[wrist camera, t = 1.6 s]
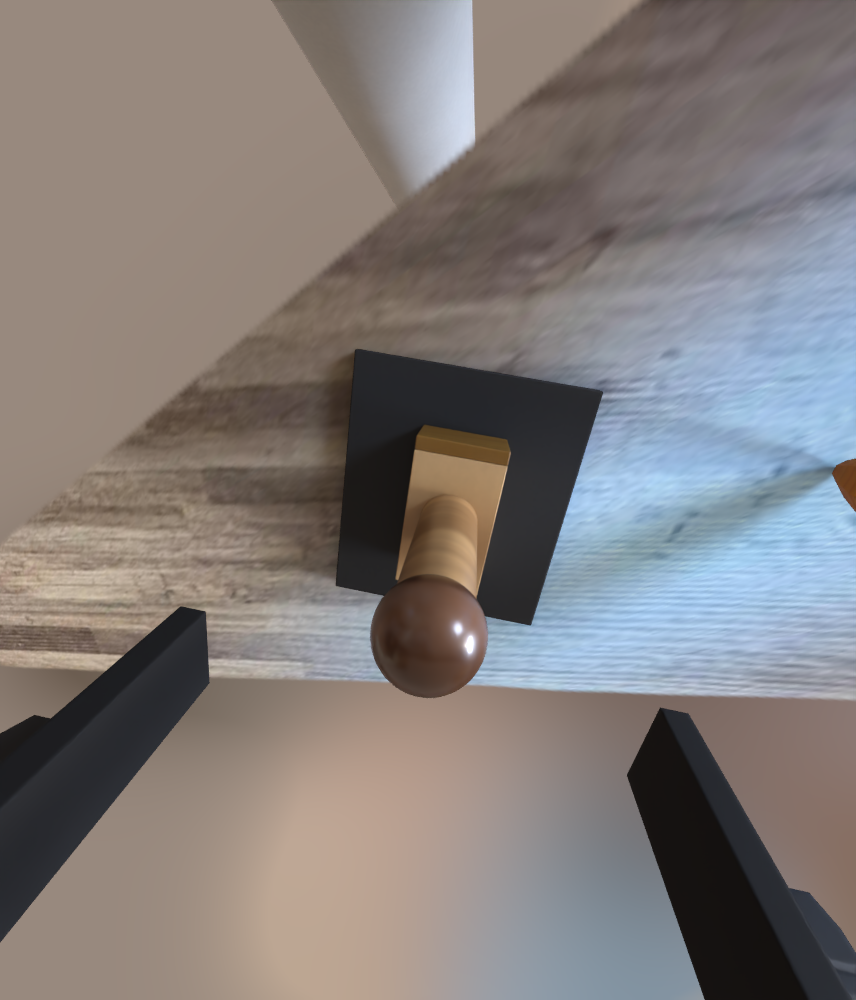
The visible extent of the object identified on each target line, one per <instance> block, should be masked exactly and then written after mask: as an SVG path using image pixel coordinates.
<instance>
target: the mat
mask: <svg viewBox="0 0 856 1000" xmlns="http://www.w3.org/2000/svg"><path fill="white" fill-rule="evenodd" d="M602 394H603V392H602V391H600V390H595V389H589V388H583V387H577V386H572V385H566V384H560V383H554V382H548V381H542V380H536V379H531V378H525V377H519V376H513V375H507V374H501V373H496V372H490V371H484V370H478V369H472V368H466V367H461V366H455V365H449V364H443V363H437V362H431V361H425V360H420V359H414V358H408V357H402V356H396V355H390V354H385V353H379V352H373V351H367V350H361V349H356V350H355V358H354V371H353V383H352V395H351V407H350V419H349V431H348V443H347V455H346V467H345V480H344V492H343V504H342V516H341V528H340V540H339V552H338V564H337V577H336V586H339V587H344V588H349V589H354V590H359V591H364V592H369V593H374V594H379V595H383V596H385V594H386V593H387V592H388V591H389V590H390V589H391V588H392V587H394V586H395V585H396V584H397V582H398V580H396V579H395V578H396V571H397V564H398V558H399V551H400V544H401V537H402V530H403V524H404V517H405V510H406V503H407V496H408V490H409V483H410V476H411V469H412V462H413V455H414V450H415V442H416V436H417V434H418V433H419V431H420V430H421V429H422V427H423V426H424V425H429V426H435V427H440V428H446V429H451V430H457V431H462V432H468V433H473V434H479V435H485V436H490V437H496V438H501V439H506V440H507V441H508V445H509V448H510V451H511V455H510V459H509V463H508V465H507V472H506V476H505V480H504V484H503V488H502V493H501V497H500V501H499V505H498V509H497V513H496V518H495V522H494V526H493V530H492V534H491V538H490V543H489V547H488V551H487V555H486V559H485V563H484V568H483V572H482V576H481V580H480V584H479V589H478V593H477V596H476V599H477V601H478V602H479V604H480V606H481V608H482V610H483V612H484V615H485V616H487V617H491V618H496V619H501V620H506V621H511V622H516V623H521V624H526V625H531V624H532V620H533V617H534V614H535V611H536V608H537V604H538V601H539V598H540V595H541V591H542V588H543V585H544V582H545V578H546V575H547V572H548V569H549V566H550V562H551V559H552V556H553V553H554V549H555V546H556V543H557V540H558V536H559V533H560V530H561V527H562V524H563V520H564V517H565V514H566V511H567V507H568V504H569V501H570V498H571V495H572V491H573V488H574V485H575V482H576V478H577V475H578V472H579V469H580V465H581V462H582V459H583V456H584V453H585V449H586V446H587V443H588V440H589V436H590V433H591V430H592V427H593V424H594V420H595V417H596V414H597V411H598V407H599V404H600V401H601V398H602Z"/></svg>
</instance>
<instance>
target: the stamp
mask: <svg viewBox="0 0 856 1000" xmlns="http://www.w3.org/2000/svg"><path fill="white" fill-rule="evenodd" d="M510 455H511V451H510V448H509V445H508V441H507V440H506V439H501V438H496V437H490V436H485V435H479V434H473V433H468V432H462V431H457V430H451V429H446V428H440V427H435V426H429V425H424V426H423V427H422V429H421V430H420V431H419V433H418V434H417V436H416V442H415V450H414V455H413V462H412V469H411V476H410V483H409V490H408V496H407V503H406V510H405V517H404V524H403V530H402V537H401V544H400V551H399V558H398V564H397V571H396V578H395V579H396V580H398V582H397V584H396V585H395V586H394V587H392V588H391V589H390V590H389V591H388V592H387V593H386V594H385V596H384V597H383V598H382V599H381V601H380V603H379V604H378V606H377V608H376V610H375V613H374V616H373V619H372V624H371V632H370V640H371V649H372V653H373V656H374V659H375V661H376V664H377V666H378V667H379V669H380V671H381V672H382V674H383V675H384V676H385V678H386V679H387V680H388V681H389V682H390V683H392V684H393V685H394V686H395V687H396V688H398V689H400V690H401V691H403V692H405V693H407V694H410V695H413V696H417V697H423V698H436V697H442V696H445V695H448V694H451V693H453V692H455V691H457V690H459V689H460V688H462V687H463V686H464V685H466V684H467V683H468V682H469V681H470V680H471V679H472V678H473V677H474V675H475V674H476V673H477V671H478V670H479V668H480V666H481V664H482V662H483V660H484V657H485V654H486V650H487V644H488V629H487V622H486V618H485V615H484V612H483V610H482V608H481V606H480V604H479V602H478V601H477V599H476V596H477V593H478V589H479V584H480V580H481V576H482V572H483V568H484V563H485V559H486V555H487V551H488V547H489V543H490V538H491V534H492V530H493V526H494V522H495V518H496V513H497V509H498V505H499V501H500V497H501V493H502V488H503V484H504V480H505V476H506V472H507V465H508V463H509V459H510Z"/></svg>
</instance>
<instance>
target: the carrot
mask: <svg viewBox="0 0 856 1000" xmlns="http://www.w3.org/2000/svg"><path fill="white" fill-rule="evenodd" d="M832 474H833V477H834V479H835V481H836V483H837V485H838V487H839V489H840V491H841V493H842V495H843V496H844V498H845V499H846V501H847V502H848V503H849V504H850V506H851V507H852V508H853V509H854V511H855V512H856V459H852V460H847V461H845V462H842V463H840V464H838V465H836V467H835V469H834V471H833V472H832Z"/></svg>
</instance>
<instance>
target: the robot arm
mask: <svg viewBox="0 0 856 1000" xmlns="http://www.w3.org/2000/svg"><path fill="white" fill-rule="evenodd" d="M208 684H209V665H208V646H207V628H206V612H205V611H200V610H196V609H191V608H186V607H179V608H178V609H177V610H176V611H175V612H174V613H173V614H171V615H170V616H169V617H168V618H167V619H166V620H164V621H163V622H162V623H161V624H160V625H159V626H157V627H156V628H155V629H154V630H153V631H152V632H151V633H149V634H148V635H147V636H146V637H145V638H144V639H142V640H141V641H140V642H139V643H138V644H137V645H135V646H134V647H133V648H132V649H131V650H130V651H129V652H127V653H126V654H125V655H124V656H123V657H122V658H120V659H119V660H118V661H117V662H116V663H115V664H113V665H112V666H111V667H110V668H109V669H108V670H107V671H105V672H104V673H103V674H102V675H101V676H100V677H99V678H97V679H96V680H95V681H94V682H93V683H92V684H90V685H89V686H88V687H87V688H86V689H85V690H83V691H82V692H81V693H80V694H79V695H78V696H77V697H75V698H74V699H73V700H72V701H71V702H70V703H68V704H67V705H66V706H65V707H64V708H63V709H61V710H60V711H59V712H58V713H57V714H56V715H54V716H53V717H52V718H51V719H50V718H45V717H41V716H36V715H34V716H32V717H30V718H28V719H26V720H24V721H23V722H21V723H19V724H17V725H15V726H13V727H12V728H10V729H8V730H6V731H4V732H2V733H0V942H1V941H2V940H3V938H4V937H5V936H6V934H7V933H8V932H9V931H10V930H11V928H12V927H13V926H14V925H15V924H16V922H17V921H18V920H19V919H20V917H21V916H22V915H23V914H24V912H25V911H26V910H27V909H28V907H29V906H30V905H31V904H32V902H33V901H34V900H35V899H36V897H37V896H38V895H39V894H40V892H41V891H42V890H43V889H44V888H45V886H46V885H47V884H48V883H49V881H50V880H51V879H52V878H53V876H54V875H55V874H56V873H57V871H58V870H59V869H60V868H61V866H62V865H63V864H64V863H65V861H66V860H67V859H68V858H69V857H70V855H71V854H72V853H73V851H74V850H75V849H76V848H77V847H78V845H79V844H80V843H81V841H82V840H83V839H84V838H85V837H86V835H87V834H88V833H89V832H90V830H91V829H92V828H93V827H94V825H95V824H96V823H97V822H98V820H99V819H100V818H101V817H102V815H103V814H104V813H105V812H106V811H107V809H108V808H109V807H110V806H111V804H112V803H113V802H114V801H115V799H116V798H117V797H118V796H119V794H120V793H121V792H122V791H123V790H124V788H125V787H126V786H127V785H128V783H129V782H130V781H131V780H132V778H133V777H134V776H135V775H136V773H137V772H138V771H139V770H140V768H141V767H142V766H143V765H144V764H145V762H146V761H147V760H148V758H149V757H150V756H151V755H152V753H153V752H154V751H155V750H156V749H157V747H158V746H159V745H160V744H161V742H162V741H163V740H164V739H165V737H166V736H167V735H168V734H169V732H170V731H171V730H172V729H173V728H174V726H175V725H176V724H177V723H178V721H179V720H180V719H181V717H182V716H183V715H184V714H185V713H186V711H187V710H188V709H189V708H190V706H191V705H192V704H193V703H194V701H195V700H196V699H197V698H198V696H199V695H200V694H201V693H202V692H203V690H204V689H205V688H206V687H207V685H208ZM627 777H628V780H629V783H630V786H631V789H632V792H633V794H634V797H635V800H636V803H637V806H638V809H639V812H640V815H641V817H642V820H643V823H644V826H645V829H646V832H647V835H648V838H649V840H650V843H651V846H652V849H653V852H654V855H655V858H656V861H657V864H658V866H659V869H660V872H661V875H662V878H663V881H664V883H665V887H666V890H667V892H668V895H669V898H670V901H671V904H672V907H673V910H674V912H675V915H676V918H677V921H678V924H679V927H680V930H681V933H682V936H683V938H684V941H685V944H686V947H687V950H688V953H689V956H690V959H691V962H692V964H693V967H694V970H695V973H696V976H697V979H698V982H699V985H700V987H701V990H702V993H703V996H704V999H705V1000H856V952H855V951H854V949H853V948H852V946H851V944H850V943H849V941H848V940H847V938H846V937H845V935H844V933H843V932H842V930H841V929H840V928H839V926H838V925H837V924H836V923H835V922H834V921H833V920H832V918H831V917H830V916H829V915H828V914H827V913H826V911H825V910H824V909H823V908H822V907H821V906H820V905H819V903H818V902H817V901H816V900H815V899H814V898H813V897H812V895H811V894H810V893H808V892H804V891H799V890H795V889H791V888H788V886H787V884H786V883H785V881H784V879H783V877H782V876H781V874H780V872H779V870H778V869H777V867H776V866H775V863H774V862H773V860H772V858H771V856H770V855H769V853H768V851H767V850H766V848H765V846H764V844H763V843H762V841H761V839H760V837H759V835H758V834H757V832H756V830H755V829H754V827H753V825H752V824H751V822H750V820H749V818H748V816H747V815H746V813H745V811H744V809H743V808H742V806H741V804H740V802H739V801H738V799H737V797H736V795H735V794H734V792H733V790H732V788H731V787H730V785H729V783H728V782H727V780H726V778H725V777H724V775H723V773H722V771H721V770H720V768H719V766H718V764H717V762H716V761H715V759H714V757H713V756H712V754H711V752H710V750H709V749H708V747H707V745H706V743H705V742H704V740H703V738H702V736H701V735H700V733H699V731H698V729H697V728H696V726H695V724H694V722H693V721H692V719H691V718H690V715H689V714H688V713H683V712H678V711H673V710H668V709H664V708H660V709H659V711H658V713H657V715H656V717H655V719H654V721H653V723H652V725H651V727H650V729H649V732H648V733H647V735H646V737H645V739H644V742H643V744H642V745H641V748H640V750H639V752H638V754H637V756H636V758H635V760H634V762H633V764H632V766H631V768H630V770H629V772H628V774H627Z"/></svg>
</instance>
